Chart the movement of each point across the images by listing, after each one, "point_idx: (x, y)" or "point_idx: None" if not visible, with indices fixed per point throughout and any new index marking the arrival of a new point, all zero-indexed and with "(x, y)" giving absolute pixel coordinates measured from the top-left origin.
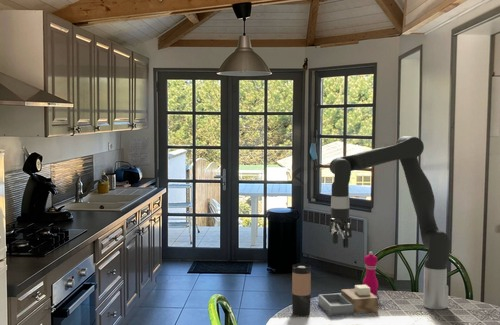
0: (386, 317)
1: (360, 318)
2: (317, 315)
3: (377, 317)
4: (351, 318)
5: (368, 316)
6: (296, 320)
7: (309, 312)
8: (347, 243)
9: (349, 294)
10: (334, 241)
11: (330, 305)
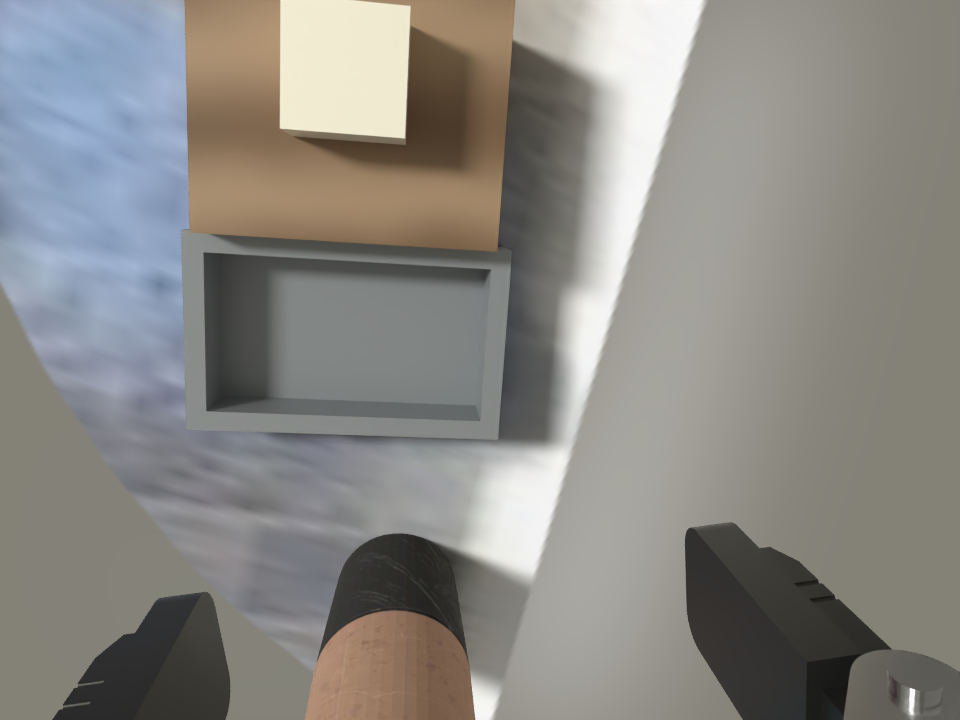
0: (629, 31)
1: (593, 236)
2: (459, 497)
3: (609, 101)
4: (575, 298)
5: (571, 158)
6: (513, 645)
7: (432, 549)
8: (826, 609)
9: (359, 221)
10: (210, 708)
11: (482, 435)
